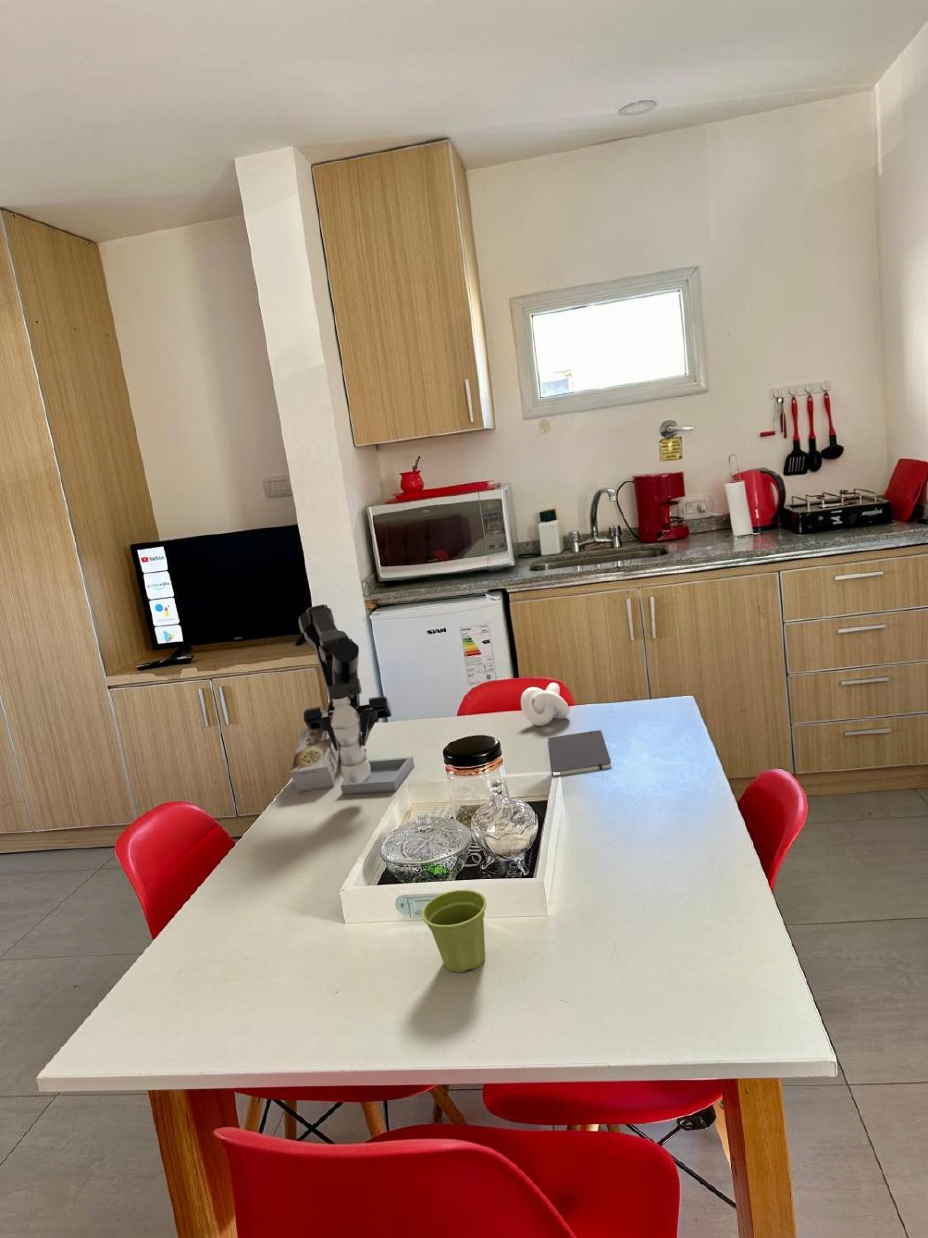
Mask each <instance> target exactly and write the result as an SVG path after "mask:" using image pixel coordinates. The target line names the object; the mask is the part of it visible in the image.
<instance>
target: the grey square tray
mask: <svg viewBox="0 0 928 1238" xmlns="http://www.w3.org/2000/svg"><path fill="white" fill-rule="evenodd" d="M368 761H369V763H370V766H371V775H370V778H369V779H368V780H367V781H365V782H363V783H360V784H355V785H350V784H347V783H346V782H345V781H344V780H343V781H342V782H341V784H340V791H341V793H342V796H351V795H352V796H353V795H366V794H370V795H371V794H380V793H381V794H383V793H384V794H385V793H396V792H397V791H398V790H399V788H400V787H401V785H402V784H403V783H404V782H405V780H406V779H407V778H408V776H409V775H410V773H411V772H412V771H413V769H414V768H415V763H414V758H413V756H407V757H394V758H382V759H368ZM413 767H414V768H413ZM411 770H412V771H411ZM409 772H410V773H409ZM408 774H409V775H408ZM407 775H408V776H407ZM403 781H404V782H403ZM397 789H398V790H397Z"/></svg>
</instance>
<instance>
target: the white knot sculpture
mask: <svg viewBox="0 0 928 1238" xmlns="http://www.w3.org/2000/svg"><path fill="white" fill-rule="evenodd" d="M520 708H521V710H522V713H523V715H524V717H525V718H526V720H527V721H528V722H529V723H531V724H533V725H534V726H537V727H538V726H539V727H542V726H546V725H548V724H549V723H551V721H552V720H553V719H554V717H555V718H556V719H560V720H563V719H567V717H568V716H570V715H569V714H570V708H569V705H568V703H567V701H566V700H564V698H563V697H562V696H560V686H559V684H558V683H557V682H556V683H555V682H550V683H549V684H548V685H547V687H546V689H545V690H543V689H542V688H539V687H536V686H531V687H528V688H526V689H525V690H524V691H523V692H522V694H521V697H520Z"/></svg>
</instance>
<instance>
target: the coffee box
mask: <svg viewBox="0 0 928 1238" xmlns="http://www.w3.org/2000/svg"><path fill="white" fill-rule="evenodd" d="M300 730H301V731H300V733H299V738H298V743H297V747H296V750H295V755H294V759H293V763H292V765H291V766H292V767H291V769H290V776H291V778H292V781H293V782H294V783H293V784H294V785H295V788H296V790H297V792H306V791H313V790H318V789H324V788H331V787H335V783H336V782H335V781H336V777H337V772H338V765H339V756H340V751H339V747H338V751H336V750H335V748H334V746H333V743H332V741H331V738H330V736H329V734H328V732H327V731H322V729H316V730H310V729H309V727H307V728H303V729H302V728H301V729H300Z"/></svg>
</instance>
